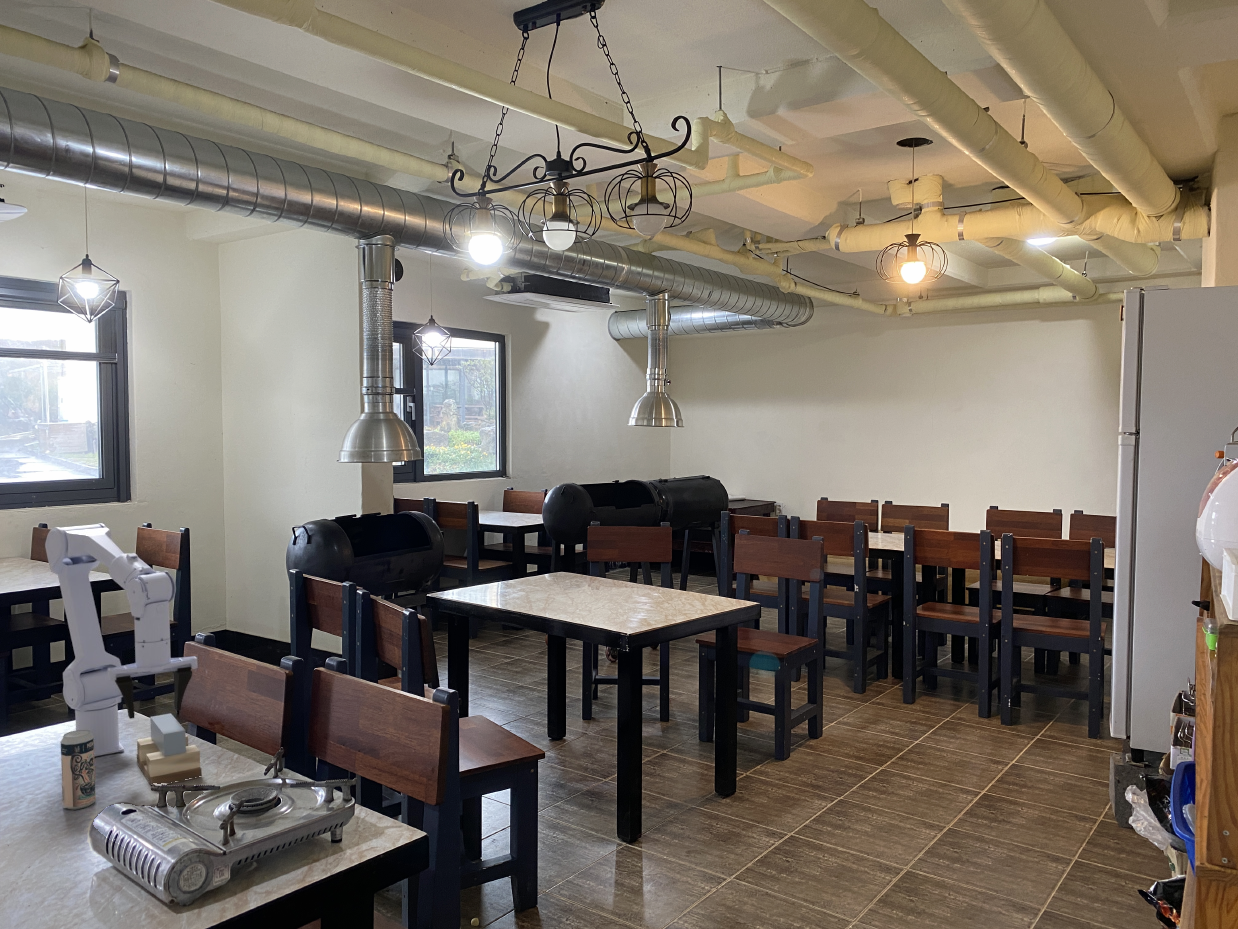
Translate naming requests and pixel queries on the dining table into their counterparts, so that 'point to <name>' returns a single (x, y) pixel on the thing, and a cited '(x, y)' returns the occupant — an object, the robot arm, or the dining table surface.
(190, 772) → the display stand
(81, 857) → the dining table surface
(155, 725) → the grey rectangular block
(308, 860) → the dining table surface
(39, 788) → the dining table surface
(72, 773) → the tea canister
